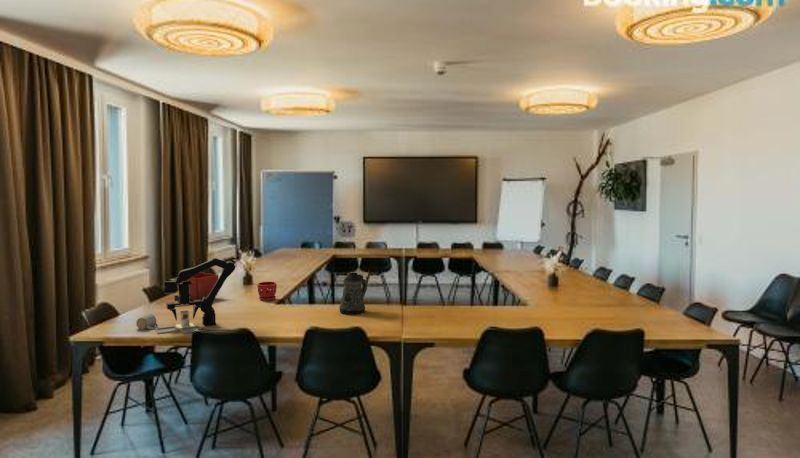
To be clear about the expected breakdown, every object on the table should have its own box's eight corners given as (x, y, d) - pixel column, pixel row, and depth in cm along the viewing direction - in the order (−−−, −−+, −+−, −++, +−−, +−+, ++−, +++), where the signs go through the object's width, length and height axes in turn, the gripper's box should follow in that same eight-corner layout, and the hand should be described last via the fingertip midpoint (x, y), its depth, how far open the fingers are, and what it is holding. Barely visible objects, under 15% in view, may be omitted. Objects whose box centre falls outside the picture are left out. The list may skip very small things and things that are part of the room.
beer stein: (335, 314, 338) (335, 274, 336) (345, 307, 357) (345, 270, 355) (360, 315, 334) (360, 276, 332) (369, 309, 353) (369, 271, 351)
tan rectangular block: (188, 324, 310) (187, 310, 309) (189, 325, 307) (189, 311, 306) (180, 325, 308) (180, 311, 307) (181, 326, 304) (181, 312, 304)
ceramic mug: (135, 330, 299) (134, 316, 299) (145, 326, 307) (145, 313, 306) (151, 331, 297) (151, 317, 296) (161, 327, 305) (161, 314, 304)
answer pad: (191, 323, 313) (191, 322, 313) (194, 327, 306) (194, 326, 306) (175, 325, 309) (175, 324, 309) (177, 329, 301) (177, 328, 301)
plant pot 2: (257, 298, 386) (256, 281, 385) (275, 297, 390) (275, 281, 389) (258, 302, 373) (257, 285, 373) (277, 301, 377) (277, 284, 376)
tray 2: (199, 328, 304) (198, 325, 304) (202, 332, 295) (202, 330, 295) (179, 330, 298) (179, 328, 298) (182, 334, 290) (182, 332, 290)
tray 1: (175, 328, 303) (175, 326, 303) (178, 332, 295) (178, 330, 295) (155, 330, 298) (155, 328, 298) (158, 334, 289) (157, 332, 289)
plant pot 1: (219, 297, 388) (219, 274, 387) (197, 302, 372) (196, 278, 370) (202, 294, 398) (201, 272, 397) (179, 299, 382) (179, 275, 381)
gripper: (198, 288, 318) (199, 314, 319) (164, 291, 308) (165, 318, 309) (202, 291, 308) (203, 318, 309) (167, 294, 298) (168, 322, 300)
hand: (184, 319), depth 307 cm, fingers open, 9 cm apart
